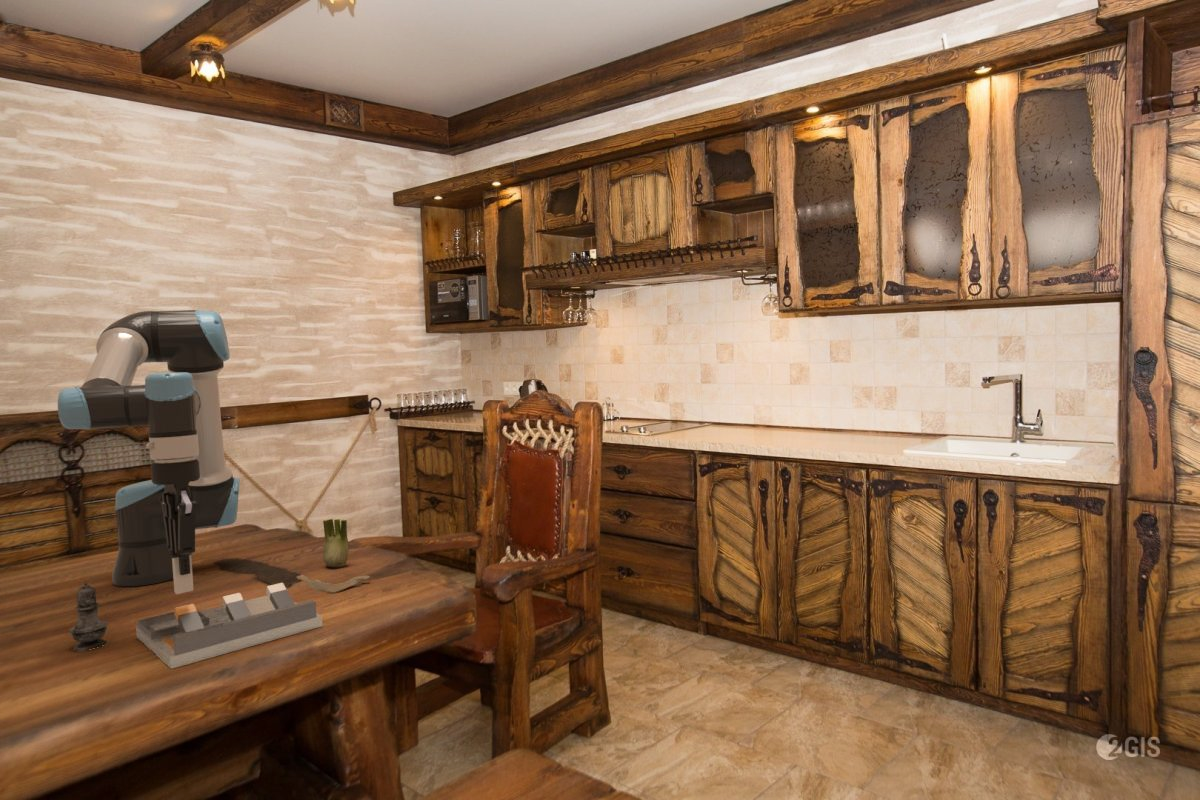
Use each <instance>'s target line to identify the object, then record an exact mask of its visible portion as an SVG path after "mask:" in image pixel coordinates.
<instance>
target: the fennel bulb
mask: <svg viewBox="0 0 1200 800" xmlns="http://www.w3.org/2000/svg"><path fill="white" fill-rule="evenodd" d="M322 522H323V532H324V540H323V542H324V543H323V552H322V553H323V554H322V555H323V562H324V563H325V565H326V566H327V567H329V568H341V567H344V566H346V565H347V561H348V559H349V540H348V539H349V538H348V530H347V529H348V527H347V526H348V524H347V522H348V520H346V519H342V520H341V519H340V518H338V519H333V518H328V519H323V521H322Z"/></svg>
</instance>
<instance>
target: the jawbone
mask: <svg viewBox="0 0 1200 800" xmlns="http://www.w3.org/2000/svg"><path fill="white" fill-rule="evenodd" d="M369 578H370V579H371V578H372V577H371V576H369V575H358V576H354V577H351V578H350V579H348V580H346V581H342V582H339V583H330V582H324V581H322V580H319V579H315V580H314V579H313V580H311V579H309V578H308V577H307V576H306V575H304V574H300V575H297V576H296V579H297V580H299V581H302V582H304V583H305V585H306V586H307V587H308V588H309V589H311V590H314V591H317V592H324V593H327V594H337V593H341V592H342V591H344V590H346V589H348V588H351V587H355V588H356V586H357V587H361V586H362V580H368V579H369Z"/></svg>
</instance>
